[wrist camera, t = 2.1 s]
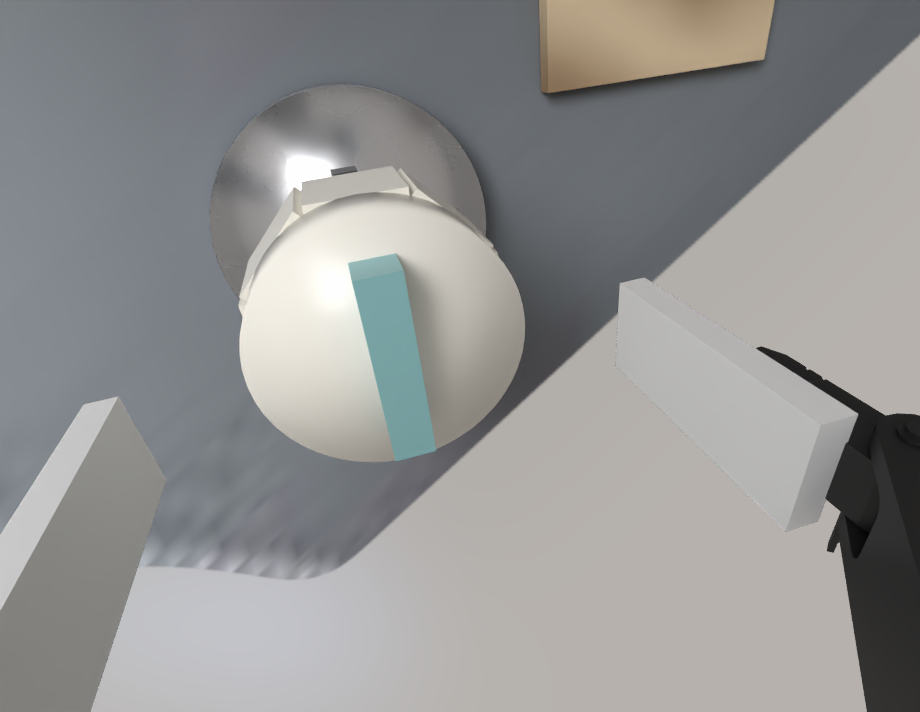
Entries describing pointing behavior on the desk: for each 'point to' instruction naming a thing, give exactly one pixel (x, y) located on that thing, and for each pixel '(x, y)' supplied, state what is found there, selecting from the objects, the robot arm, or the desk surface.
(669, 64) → the coaster
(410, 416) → the cap
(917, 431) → the robot arm
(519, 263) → the desk surface
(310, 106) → the bayonet post
